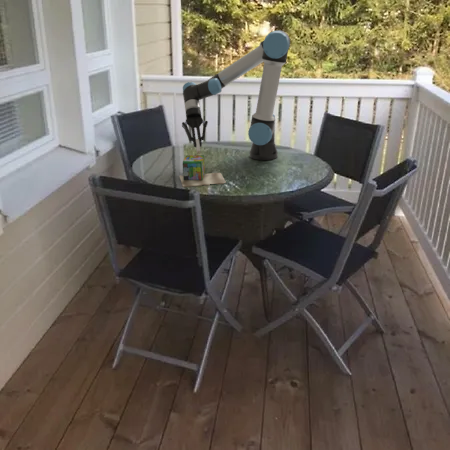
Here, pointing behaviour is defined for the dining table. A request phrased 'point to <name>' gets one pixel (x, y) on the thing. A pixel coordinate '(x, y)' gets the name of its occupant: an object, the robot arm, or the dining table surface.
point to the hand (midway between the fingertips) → (198, 152)
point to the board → (204, 180)
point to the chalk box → (193, 167)
